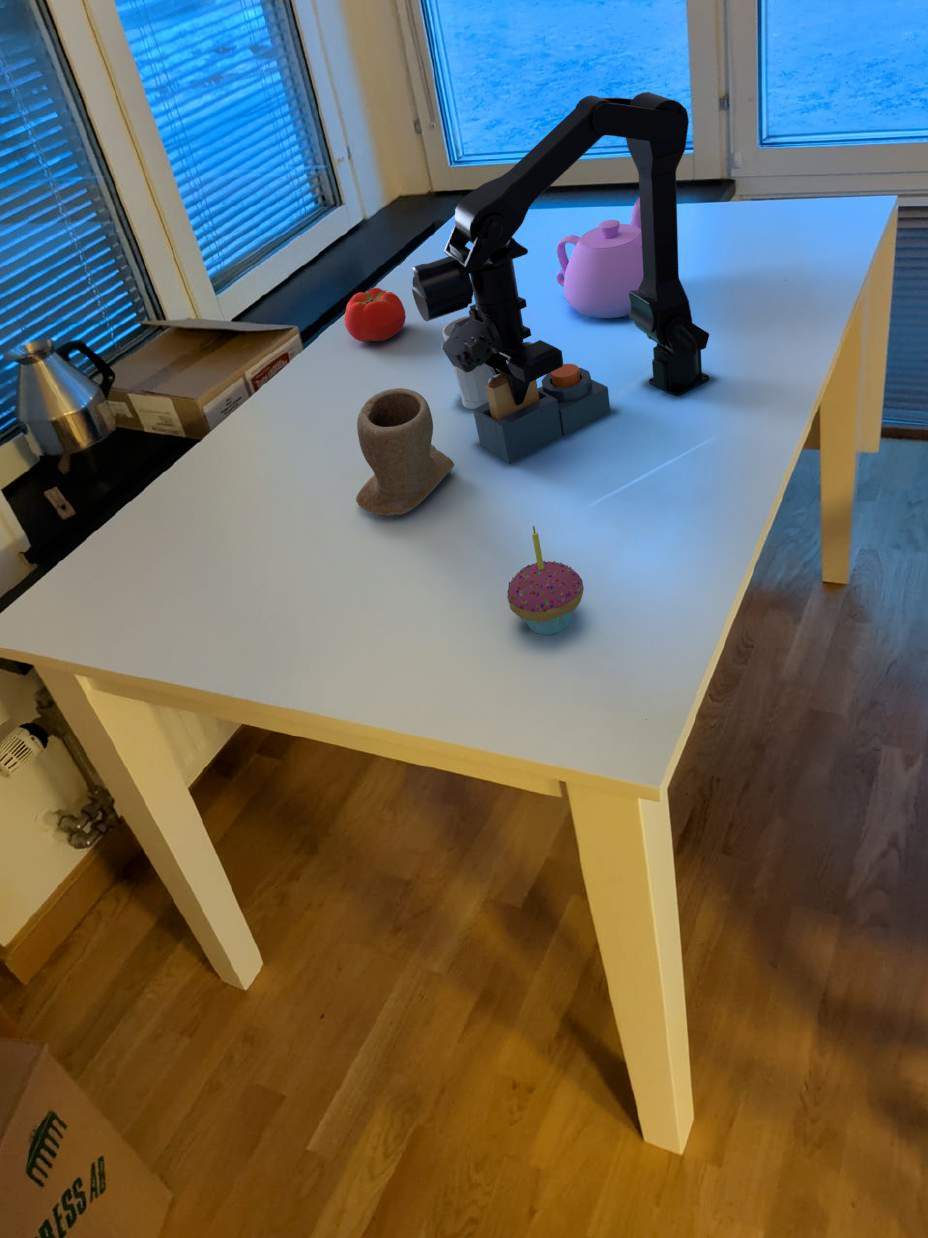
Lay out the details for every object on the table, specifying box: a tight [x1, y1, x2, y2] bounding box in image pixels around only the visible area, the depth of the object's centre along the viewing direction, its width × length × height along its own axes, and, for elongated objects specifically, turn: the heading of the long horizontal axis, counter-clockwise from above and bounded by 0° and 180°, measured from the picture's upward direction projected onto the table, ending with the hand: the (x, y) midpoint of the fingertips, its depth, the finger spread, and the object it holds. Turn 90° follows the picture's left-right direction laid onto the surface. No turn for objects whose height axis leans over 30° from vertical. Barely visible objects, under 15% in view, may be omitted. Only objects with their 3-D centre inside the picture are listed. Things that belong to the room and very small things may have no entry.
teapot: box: [556, 196, 643, 319], centre depth 177 cm, size 22×22×14 cm
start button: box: [551, 363, 580, 387], centre depth 150 cm, size 4×4×2 cm
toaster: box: [472, 389, 563, 464], centre depth 149 cm, size 9×7×6 cm
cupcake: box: [506, 525, 584, 636], centre depth 116 cm, size 9×8×12 cm
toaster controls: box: [537, 367, 611, 437], centre depth 152 cm, size 8×8×6 cm
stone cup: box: [355, 387, 455, 517], centre depth 142 cm, size 15×12×15 cm
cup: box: [442, 315, 493, 410], centre depth 159 cm, size 8×8×12 cm
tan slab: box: [486, 373, 539, 421], centre depth 146 cm, size 7×2×6 cm, turn 123°
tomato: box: [343, 287, 407, 343], centre depth 186 cm, size 11×11×8 cm
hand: (514, 401), depth 147 cm, fingers closed on tan slab, 2 cm apart
